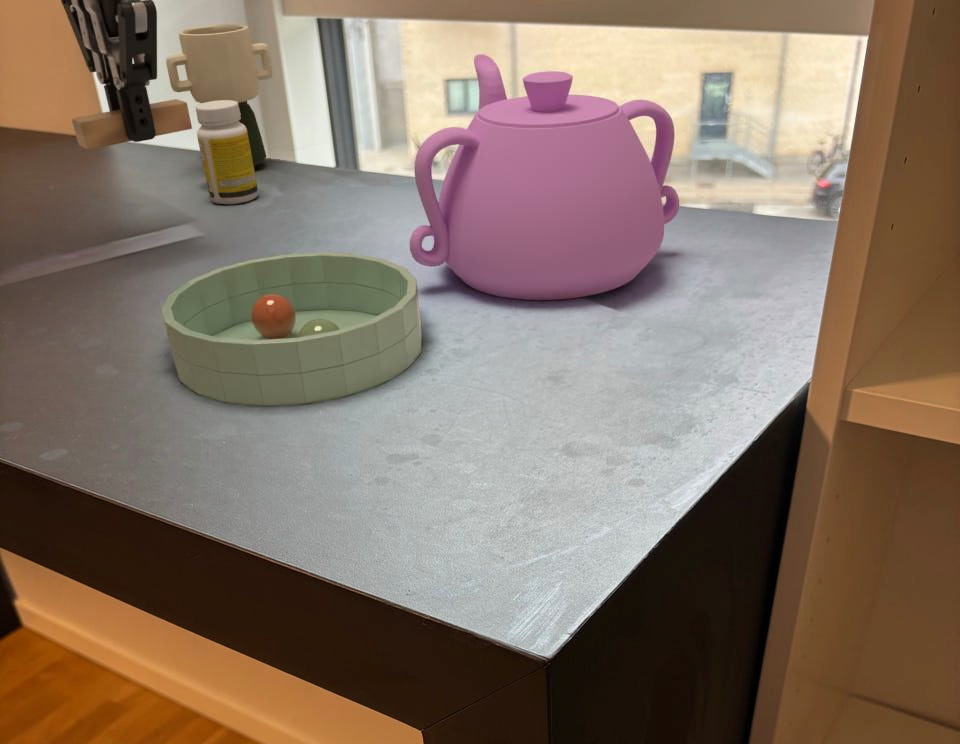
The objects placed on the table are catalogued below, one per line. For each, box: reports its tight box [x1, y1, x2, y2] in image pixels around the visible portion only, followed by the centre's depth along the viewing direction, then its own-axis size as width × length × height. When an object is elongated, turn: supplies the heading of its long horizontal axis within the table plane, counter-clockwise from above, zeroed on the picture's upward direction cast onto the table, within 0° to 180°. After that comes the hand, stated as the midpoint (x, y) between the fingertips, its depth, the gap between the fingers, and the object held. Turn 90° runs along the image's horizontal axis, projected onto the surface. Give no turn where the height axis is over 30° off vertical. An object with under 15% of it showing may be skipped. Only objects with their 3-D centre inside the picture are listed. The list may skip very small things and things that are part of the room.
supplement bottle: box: [195, 100, 259, 205], centre depth 98 cm, size 5×5×8 cm
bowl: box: [160, 251, 423, 407], centre depth 67 cm, size 16×16×4 cm
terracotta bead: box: [251, 293, 296, 339], centre depth 69 cm, size 3×3×3 cm
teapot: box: [409, 53, 680, 301], centre depth 76 cm, size 22×22×14 cm
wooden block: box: [71, 98, 193, 151], centre depth 82 cm, size 9×2×2 cm, turn 128°
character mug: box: [165, 23, 273, 167], centre depth 106 cm, size 11×7×13 cm, turn 119°
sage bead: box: [298, 319, 340, 337], centre depth 65 cm, size 3×3×3 cm
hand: (136, 136), depth 82 cm, fingers closed on wooden block, 2 cm apart
